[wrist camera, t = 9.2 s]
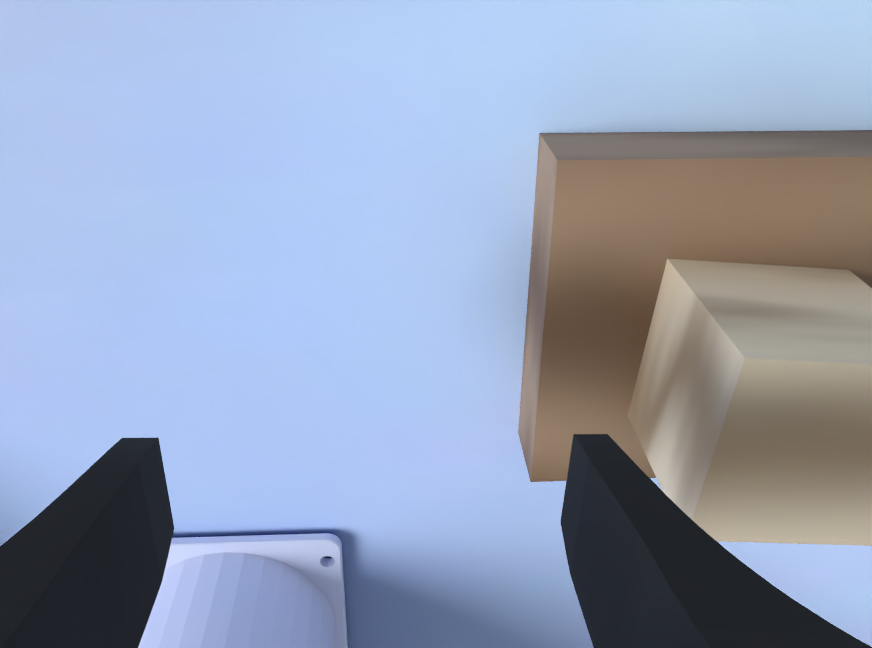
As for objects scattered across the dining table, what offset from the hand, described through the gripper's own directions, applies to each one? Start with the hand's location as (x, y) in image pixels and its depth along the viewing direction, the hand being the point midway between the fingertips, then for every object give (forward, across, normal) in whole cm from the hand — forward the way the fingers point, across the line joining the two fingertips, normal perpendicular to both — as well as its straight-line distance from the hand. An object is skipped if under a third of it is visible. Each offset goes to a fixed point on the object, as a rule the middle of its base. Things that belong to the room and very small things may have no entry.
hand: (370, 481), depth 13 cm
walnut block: (+10, -10, +1) cm, 14 cm away
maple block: (+7, -10, +2) cm, 12 cm away
